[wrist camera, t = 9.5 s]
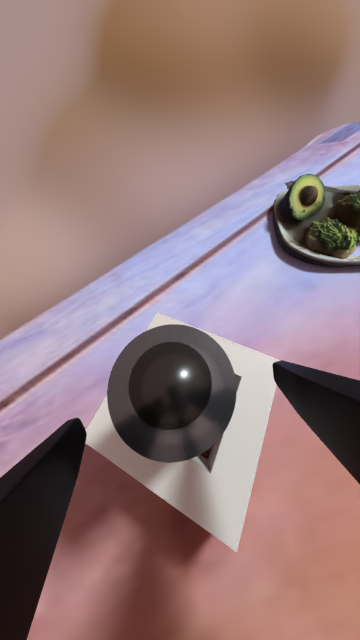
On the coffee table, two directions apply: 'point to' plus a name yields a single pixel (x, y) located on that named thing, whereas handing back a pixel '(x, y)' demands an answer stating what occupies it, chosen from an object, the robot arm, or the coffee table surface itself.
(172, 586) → the coffee table surface
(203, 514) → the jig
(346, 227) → the salad plate
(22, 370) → the coffee table surface
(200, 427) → the bushing
